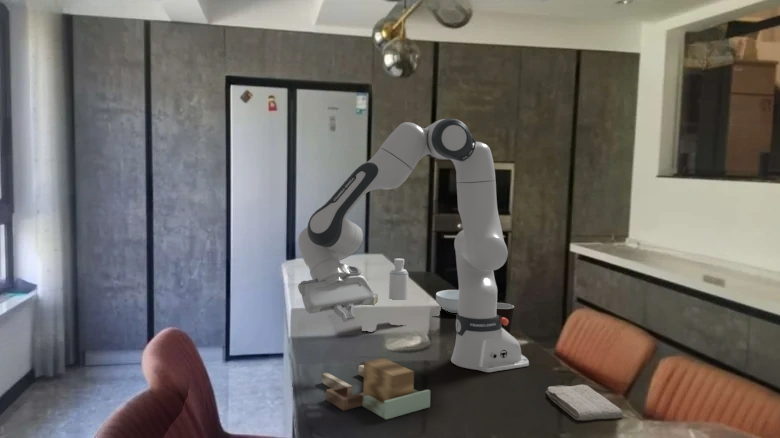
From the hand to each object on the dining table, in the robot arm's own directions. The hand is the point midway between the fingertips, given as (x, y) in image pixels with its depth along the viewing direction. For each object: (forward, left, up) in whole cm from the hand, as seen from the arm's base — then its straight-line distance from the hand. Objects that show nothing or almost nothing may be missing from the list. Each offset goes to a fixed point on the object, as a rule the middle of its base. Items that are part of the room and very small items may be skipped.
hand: (349, 320), depth 165 cm
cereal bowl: (-57, -65, -16) cm, 88 cm away
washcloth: (-52, +29, -17) cm, 62 cm away
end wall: (-9, +24, -16) cm, 30 cm away
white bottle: (-29, -52, -16) cm, 62 cm away
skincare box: (-17, -46, -16) cm, 52 cm away
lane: (-4, +11, -16) cm, 20 cm away
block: (-6, +17, -16) cm, 25 cm away
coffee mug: (-60, -34, -16) cm, 71 cm away
